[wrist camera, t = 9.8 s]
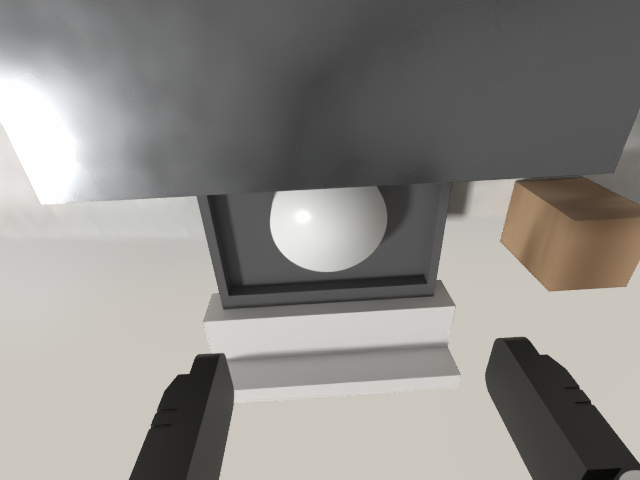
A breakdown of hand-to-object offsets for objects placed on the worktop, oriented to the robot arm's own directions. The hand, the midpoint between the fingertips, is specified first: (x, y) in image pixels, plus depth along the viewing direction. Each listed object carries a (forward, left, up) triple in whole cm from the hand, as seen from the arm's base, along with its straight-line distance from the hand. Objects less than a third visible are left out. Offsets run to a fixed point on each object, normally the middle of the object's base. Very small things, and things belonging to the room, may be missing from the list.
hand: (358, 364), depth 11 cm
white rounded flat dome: (0, 0, -10) cm, 10 cm away
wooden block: (-13, +1, -11) cm, 17 cm away
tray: (0, +1, -11) cm, 11 cm away
